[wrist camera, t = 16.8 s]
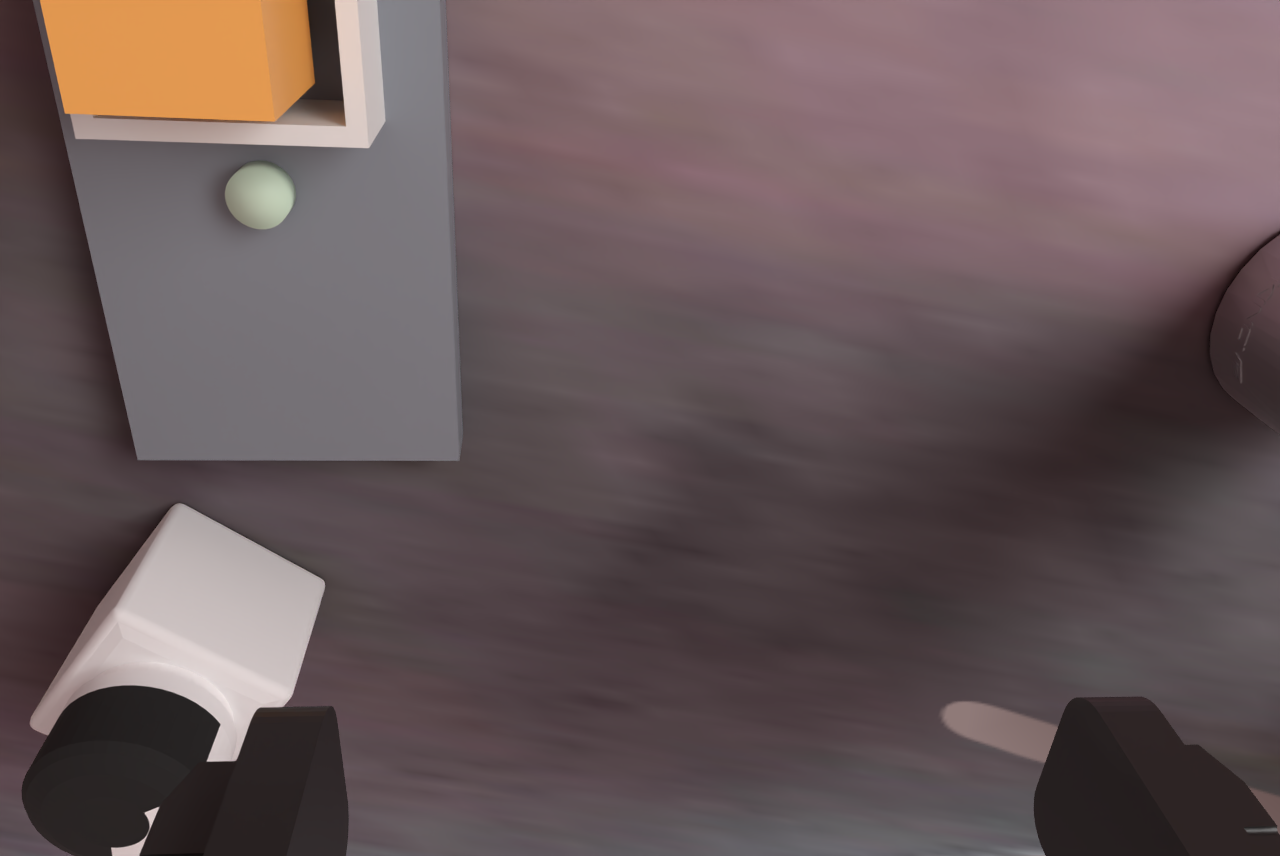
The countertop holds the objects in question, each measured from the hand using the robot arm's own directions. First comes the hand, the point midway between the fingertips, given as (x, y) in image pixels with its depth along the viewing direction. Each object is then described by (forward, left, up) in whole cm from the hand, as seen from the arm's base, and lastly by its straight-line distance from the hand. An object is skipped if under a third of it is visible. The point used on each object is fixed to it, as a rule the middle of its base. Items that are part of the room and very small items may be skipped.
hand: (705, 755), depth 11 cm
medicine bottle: (+16, +20, -28) cm, 38 cm away
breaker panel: (+11, 0, -28) cm, 30 cm away
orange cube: (+11, -5, -24) cm, 26 cm away
